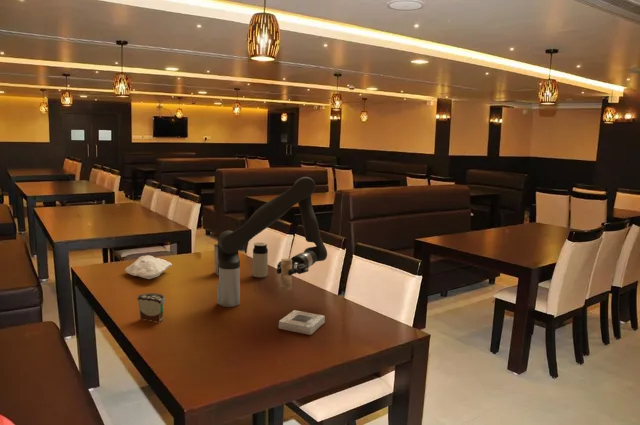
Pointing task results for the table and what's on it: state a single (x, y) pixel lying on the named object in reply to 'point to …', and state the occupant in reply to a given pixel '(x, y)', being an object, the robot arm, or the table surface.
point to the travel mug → (260, 259)
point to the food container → (151, 306)
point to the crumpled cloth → (148, 267)
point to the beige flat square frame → (301, 322)
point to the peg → (286, 274)
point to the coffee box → (216, 259)
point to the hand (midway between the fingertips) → (283, 272)
